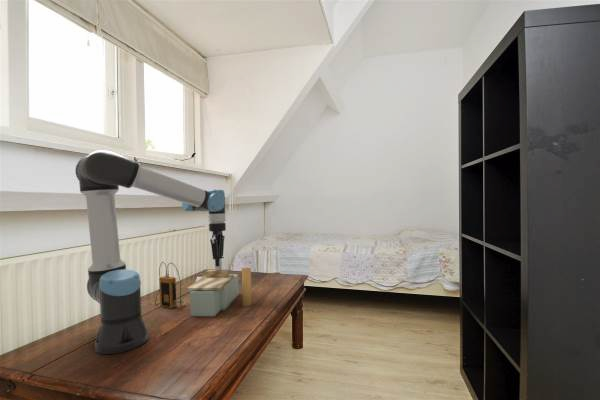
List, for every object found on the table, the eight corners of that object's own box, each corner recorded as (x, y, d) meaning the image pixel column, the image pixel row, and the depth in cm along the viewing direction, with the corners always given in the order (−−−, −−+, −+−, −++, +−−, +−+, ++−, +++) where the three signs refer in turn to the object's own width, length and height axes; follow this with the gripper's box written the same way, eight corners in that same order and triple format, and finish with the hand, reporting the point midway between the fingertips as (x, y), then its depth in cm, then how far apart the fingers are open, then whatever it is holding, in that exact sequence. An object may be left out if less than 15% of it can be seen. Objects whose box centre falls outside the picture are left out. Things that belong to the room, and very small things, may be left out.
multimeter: (194, 302, 140) (193, 259, 140) (177, 309, 131) (176, 263, 131) (171, 298, 146) (170, 257, 146) (153, 305, 137) (152, 261, 137)
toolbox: (185, 316, 123) (185, 291, 123) (210, 294, 150) (210, 274, 150) (219, 316, 122) (218, 291, 122) (238, 294, 149) (238, 274, 149)
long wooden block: (250, 306, 132) (249, 269, 132) (241, 306, 133) (240, 269, 133) (252, 303, 136) (251, 267, 136) (244, 303, 137) (242, 267, 137)
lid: (186, 290, 124) (185, 280, 124) (205, 277, 144) (205, 269, 144) (219, 290, 123) (219, 280, 123) (234, 277, 143) (234, 268, 143)
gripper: (214, 221, 149) (215, 269, 149) (204, 223, 136) (205, 276, 136) (229, 221, 149) (230, 269, 149) (220, 223, 136) (221, 276, 136)
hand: (218, 272), depth 143 cm, fingers closed
